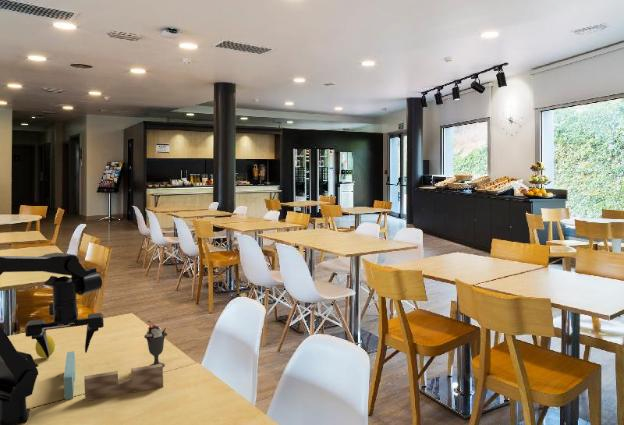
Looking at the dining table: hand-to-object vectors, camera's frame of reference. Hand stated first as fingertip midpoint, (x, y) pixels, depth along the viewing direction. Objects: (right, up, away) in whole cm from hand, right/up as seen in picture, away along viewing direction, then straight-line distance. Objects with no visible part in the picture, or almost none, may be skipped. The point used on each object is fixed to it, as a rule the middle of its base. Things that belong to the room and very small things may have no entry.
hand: (67, 354), depth 132 cm
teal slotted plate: (-2, -10, +6) cm, 12 cm away
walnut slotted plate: (+16, -11, +1) cm, 19 cm away
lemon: (-19, -9, +25) cm, 32 cm away
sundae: (+19, -9, +18) cm, 28 cm away
